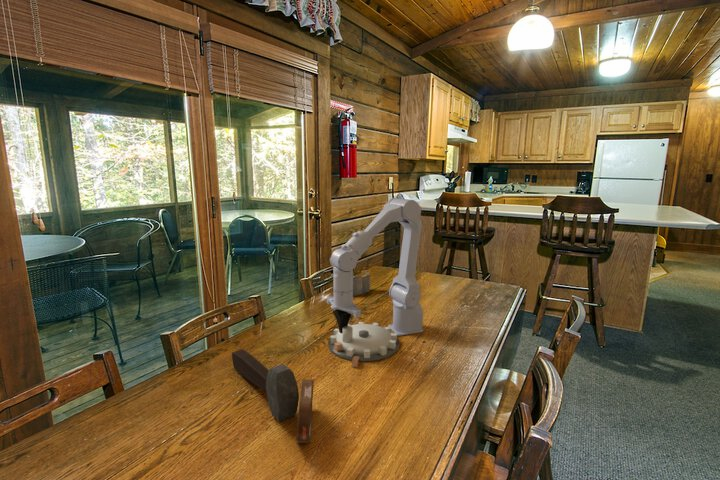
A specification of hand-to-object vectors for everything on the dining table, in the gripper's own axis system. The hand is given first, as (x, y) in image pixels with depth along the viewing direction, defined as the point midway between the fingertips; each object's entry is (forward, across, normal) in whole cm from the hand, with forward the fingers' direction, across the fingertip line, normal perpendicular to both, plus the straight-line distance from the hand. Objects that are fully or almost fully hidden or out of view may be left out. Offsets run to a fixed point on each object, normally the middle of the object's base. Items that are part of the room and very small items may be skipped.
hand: (343, 332), depth 112 cm
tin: (+5, +23, -27) cm, 36 cm away
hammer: (+5, +5, -29) cm, 30 cm away
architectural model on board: (+5, -34, +33) cm, 48 cm away
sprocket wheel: (+5, +2, +6) cm, 8 cm away
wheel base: (+5, +2, +6) cm, 8 cm away
